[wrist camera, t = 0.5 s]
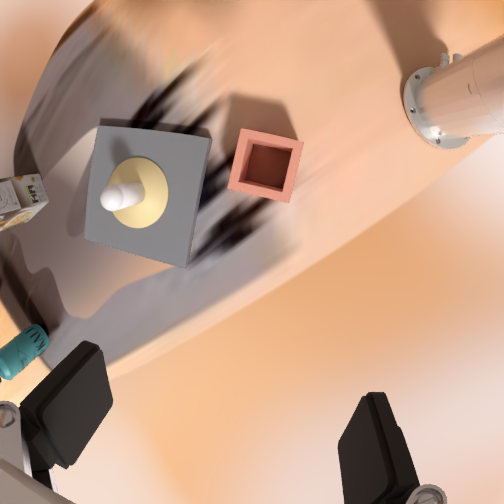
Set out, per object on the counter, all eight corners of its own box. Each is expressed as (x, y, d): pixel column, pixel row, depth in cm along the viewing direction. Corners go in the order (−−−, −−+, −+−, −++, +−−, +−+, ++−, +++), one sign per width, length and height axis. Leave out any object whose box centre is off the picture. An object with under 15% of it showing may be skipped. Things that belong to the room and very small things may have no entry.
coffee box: (39, 171, 40) (-28, 181, 24) (50, 201, 41) (-18, 219, 26) (17, 195, 42) (-44, 210, 26) (26, 224, 43) (-34, 245, 28)
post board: (103, 126, 37) (64, 120, 28) (212, 139, 36) (190, 130, 27) (89, 237, 42) (52, 253, 33) (188, 265, 41) (163, 290, 32)
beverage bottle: (38, 339, 51) (-14, 384, 32) (32, 315, 49) (-25, 358, 30) (56, 348, 51) (3, 398, 32) (50, 324, 49) (-9, 372, 30)
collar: (247, 134, 35) (241, 128, 30) (300, 146, 35) (303, 142, 29) (236, 185, 37) (227, 188, 32) (288, 198, 37) (289, 203, 31)
